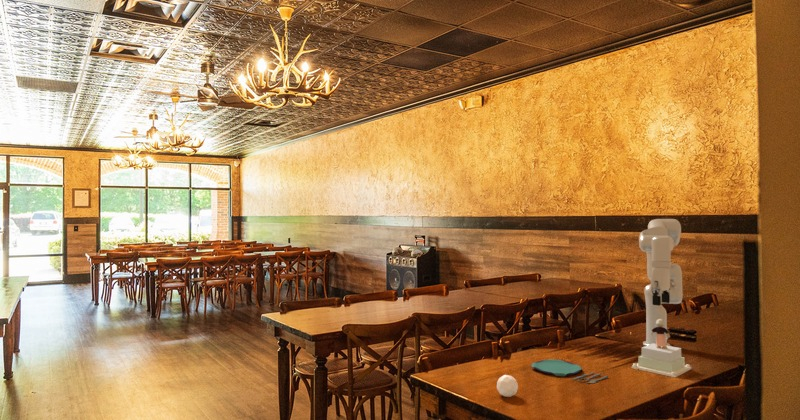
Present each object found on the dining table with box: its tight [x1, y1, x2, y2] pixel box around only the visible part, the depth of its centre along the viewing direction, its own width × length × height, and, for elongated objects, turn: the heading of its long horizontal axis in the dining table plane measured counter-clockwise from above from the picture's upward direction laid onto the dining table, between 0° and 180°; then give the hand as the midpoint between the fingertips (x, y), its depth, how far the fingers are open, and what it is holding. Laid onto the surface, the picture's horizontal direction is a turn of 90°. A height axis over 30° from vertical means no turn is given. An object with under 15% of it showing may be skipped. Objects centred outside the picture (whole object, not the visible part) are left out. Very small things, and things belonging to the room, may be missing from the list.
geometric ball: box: [496, 374, 519, 398], centre depth 193 cm, size 8×8×8 cm
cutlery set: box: [531, 358, 609, 384], centre depth 222 cm, size 20×30×2 cm, turn 37°
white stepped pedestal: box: [631, 343, 692, 378], centre depth 229 cm, size 18×18×9 cm
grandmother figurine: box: [650, 319, 671, 349], centre depth 229 cm, size 8×4×13 cm, turn 67°
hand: (661, 303), depth 229 cm, fingers open, 9 cm apart
